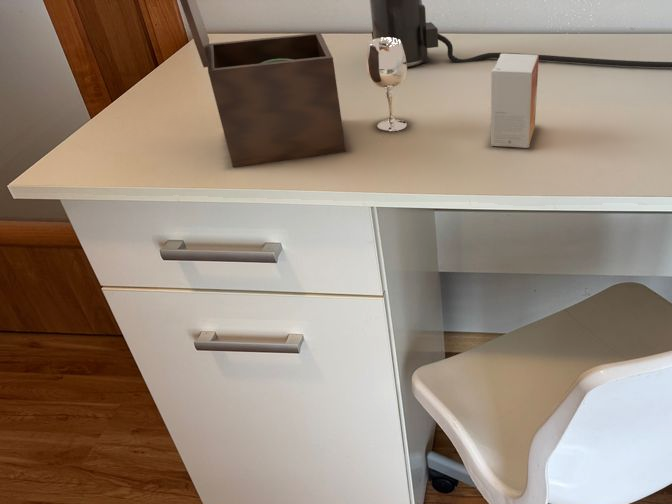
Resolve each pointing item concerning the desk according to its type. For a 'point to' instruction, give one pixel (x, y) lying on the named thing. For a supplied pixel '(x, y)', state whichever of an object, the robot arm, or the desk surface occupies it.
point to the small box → (513, 100)
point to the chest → (276, 98)
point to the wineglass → (387, 73)
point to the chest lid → (197, 30)
